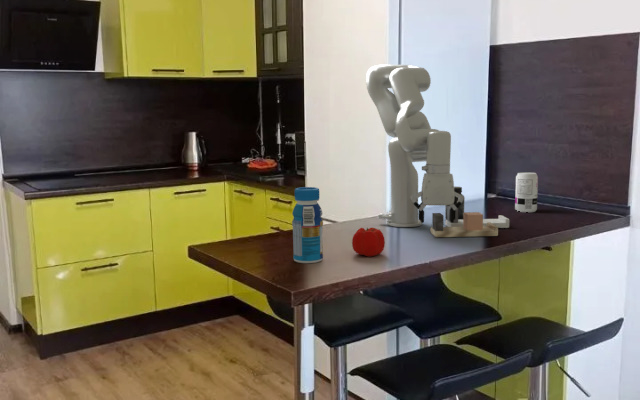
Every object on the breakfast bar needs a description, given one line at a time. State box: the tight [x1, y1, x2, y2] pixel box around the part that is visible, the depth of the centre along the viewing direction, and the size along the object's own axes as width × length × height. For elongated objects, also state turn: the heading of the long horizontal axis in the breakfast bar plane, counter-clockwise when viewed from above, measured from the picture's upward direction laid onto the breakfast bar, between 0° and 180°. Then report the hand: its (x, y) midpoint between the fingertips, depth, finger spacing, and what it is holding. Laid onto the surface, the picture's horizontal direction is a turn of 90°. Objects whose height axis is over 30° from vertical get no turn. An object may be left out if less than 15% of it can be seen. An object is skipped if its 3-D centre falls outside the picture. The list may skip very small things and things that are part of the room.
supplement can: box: [514, 172, 539, 213], centre depth 247 cm, size 8×8×15 cm
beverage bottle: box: [291, 186, 324, 264], centre depth 171 cm, size 8×8×20 cm
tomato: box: [351, 227, 386, 258], centre depth 178 cm, size 9×9×8 cm
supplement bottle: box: [444, 186, 466, 221], centre depth 231 cm, size 7×7×12 cm
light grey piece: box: [445, 206, 510, 229], centre depth 217 cm, size 20×8×7 cm, turn 92°
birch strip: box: [430, 212, 499, 238], centre depth 204 cm, size 20×8×7 cm, turn 92°
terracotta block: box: [463, 211, 484, 230], centre depth 204 cm, size 5×5×5 cm
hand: (436, 221), depth 204 cm, fingers open, 9 cm apart
